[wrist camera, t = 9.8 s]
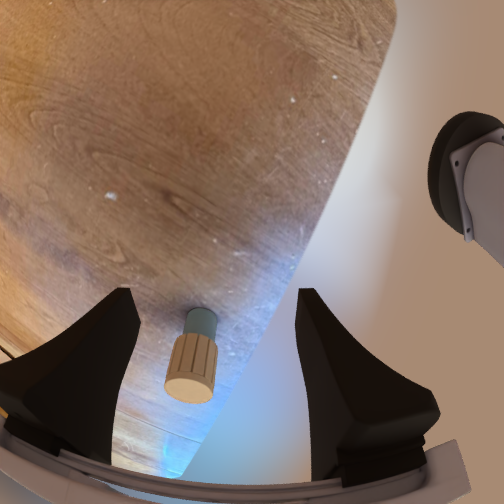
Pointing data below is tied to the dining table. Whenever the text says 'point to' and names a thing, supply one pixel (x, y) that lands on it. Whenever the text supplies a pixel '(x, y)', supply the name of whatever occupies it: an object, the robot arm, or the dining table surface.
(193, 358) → the fluted tan knob
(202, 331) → the bottle
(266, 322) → the dining table surface
